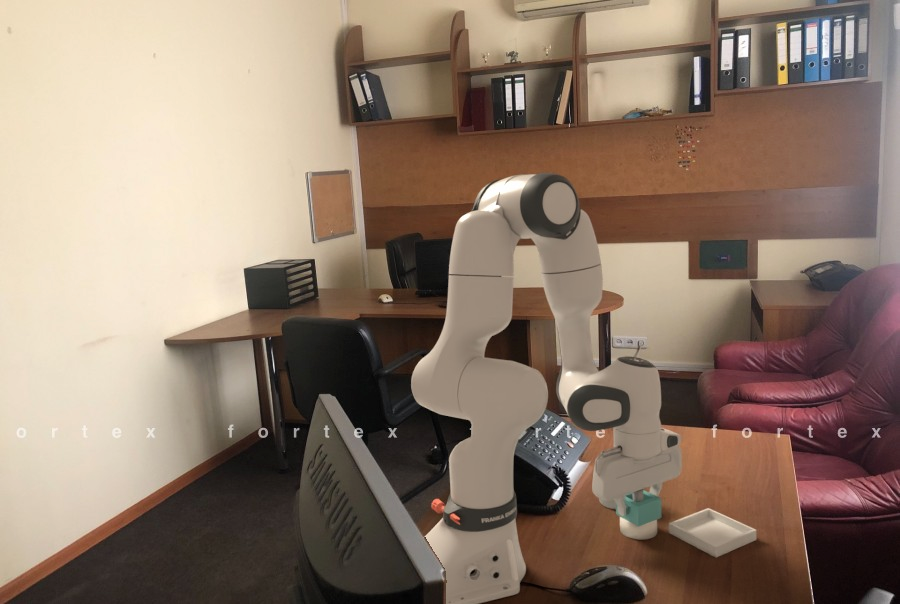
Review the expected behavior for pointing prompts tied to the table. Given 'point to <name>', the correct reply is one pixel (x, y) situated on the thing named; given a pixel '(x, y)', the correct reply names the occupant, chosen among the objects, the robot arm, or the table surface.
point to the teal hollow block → (642, 509)
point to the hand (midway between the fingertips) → (637, 508)
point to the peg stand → (638, 531)
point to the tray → (712, 532)
